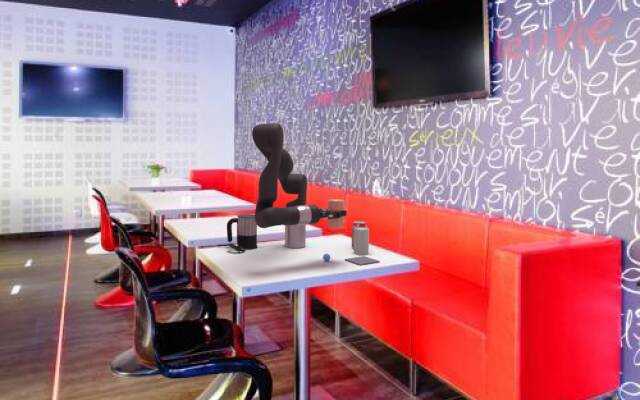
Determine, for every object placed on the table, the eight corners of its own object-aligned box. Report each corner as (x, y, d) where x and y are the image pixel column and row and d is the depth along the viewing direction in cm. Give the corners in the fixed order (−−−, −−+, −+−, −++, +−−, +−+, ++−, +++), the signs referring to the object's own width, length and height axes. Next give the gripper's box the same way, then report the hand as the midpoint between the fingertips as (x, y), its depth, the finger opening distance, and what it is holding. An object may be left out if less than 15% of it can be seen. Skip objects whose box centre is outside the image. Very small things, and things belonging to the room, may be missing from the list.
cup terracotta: (325, 226, 201) (325, 199, 200) (337, 225, 204) (338, 198, 203) (333, 229, 196) (334, 201, 195) (346, 227, 199) (347, 200, 198)
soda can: (366, 250, 224) (366, 223, 222) (350, 249, 225) (350, 223, 224) (367, 247, 230) (368, 221, 229) (352, 246, 232) (353, 220, 230)
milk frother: (255, 245, 231) (255, 213, 230) (262, 252, 217) (262, 218, 215) (224, 246, 227) (224, 214, 225) (229, 254, 212) (229, 219, 210)
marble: (321, 260, 202) (321, 253, 202) (327, 259, 204) (327, 252, 204) (325, 262, 200) (325, 254, 200) (331, 261, 202) (331, 254, 201)
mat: (344, 260, 203) (344, 259, 203) (364, 257, 209) (364, 256, 209) (360, 265, 195) (360, 264, 195) (379, 262, 201) (379, 261, 201)
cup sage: (351, 252, 218) (351, 227, 216) (362, 251, 221) (362, 226, 220) (359, 255, 213) (360, 230, 211) (371, 253, 216) (371, 228, 215)
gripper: (315, 207, 185) (352, 204, 194) (296, 203, 197) (331, 200, 206) (315, 227, 186) (351, 223, 195) (296, 221, 198) (330, 218, 207)
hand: (340, 212), depth 201 cm, fingers closed on cup terracotta, 6 cm apart
